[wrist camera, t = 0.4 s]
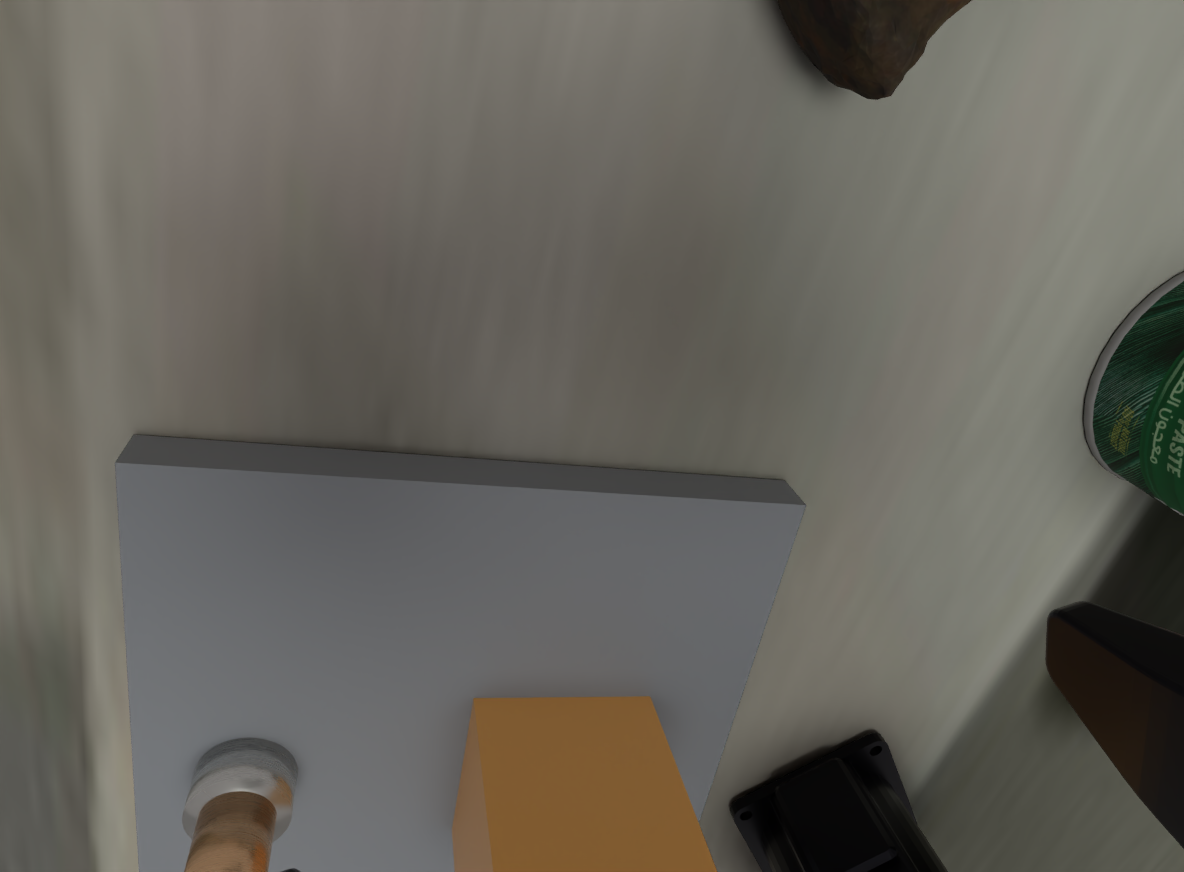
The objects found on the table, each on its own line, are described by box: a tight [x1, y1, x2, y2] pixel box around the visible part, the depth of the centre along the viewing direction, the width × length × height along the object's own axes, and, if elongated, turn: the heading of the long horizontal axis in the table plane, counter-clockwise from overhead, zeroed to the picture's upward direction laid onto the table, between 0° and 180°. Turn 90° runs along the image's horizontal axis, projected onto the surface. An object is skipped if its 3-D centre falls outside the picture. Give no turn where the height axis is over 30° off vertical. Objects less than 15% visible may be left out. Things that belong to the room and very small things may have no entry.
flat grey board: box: [115, 435, 806, 872], centre depth 27 cm, size 24×18×2 cm
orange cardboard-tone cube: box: [452, 696, 717, 872], centre depth 23 cm, size 6×6×7 cm
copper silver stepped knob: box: [182, 738, 298, 872], centre depth 22 cm, size 3×3×4 cm
